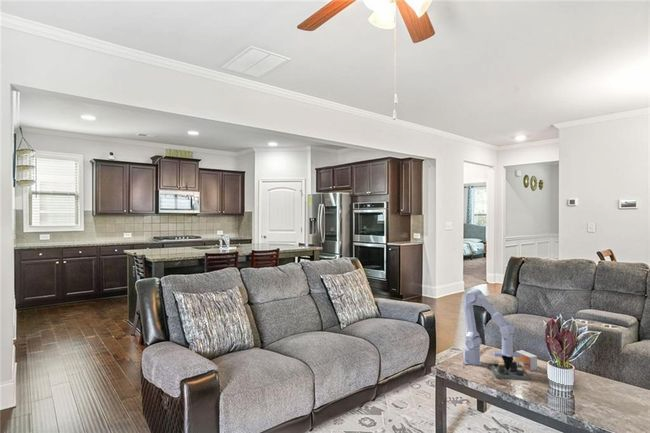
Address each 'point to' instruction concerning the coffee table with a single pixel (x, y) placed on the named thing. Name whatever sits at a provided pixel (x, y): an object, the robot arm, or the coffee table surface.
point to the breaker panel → (510, 371)
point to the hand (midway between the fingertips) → (507, 369)
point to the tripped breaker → (501, 367)
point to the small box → (527, 360)
